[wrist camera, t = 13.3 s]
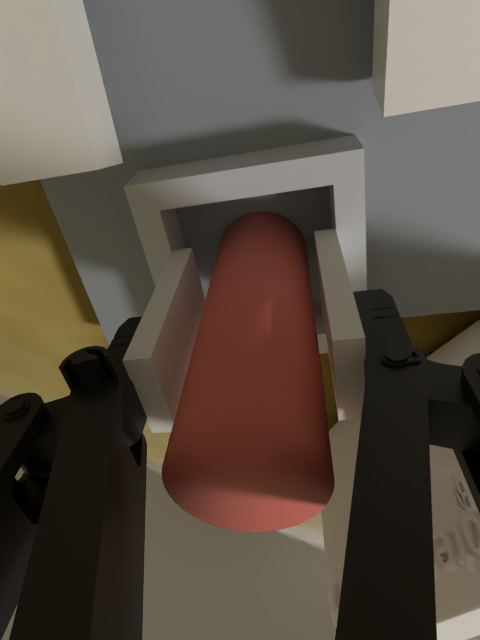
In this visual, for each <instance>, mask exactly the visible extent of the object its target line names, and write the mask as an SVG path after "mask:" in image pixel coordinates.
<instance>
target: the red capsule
mask: <svg viewBox="0 0 480 640" xmlns="http://www.w3.org/2000/svg"><path fill="white" fill-rule="evenodd" d="M162 479H163V483H164V486H165V488H166V490H167V492H168V494H169V495H170V497H171V498H172V499H173V500H174V501H175V503H176V504H177V505H178V506H180V507H181V508H182V509H183V510H185V511H186V512H187V513H189V514H191V515H192V516H194V517H196V518H198V519H200V520H202V521H204V522H207V523H209V524H212V525H215V526H218V527H222V528H226V529H231V530H238V531H248V532H262V531H273V530H280V529H284V528H289V527H292V526H295V525H298V524H300V523H302V522H305V521H307V520H308V519H310V518H312V517H314V516H315V515H316V514H317V513H319V512H320V511H321V510H322V509H323V508H324V507H325V506H326V505H327V503H328V502H329V500H330V498H331V496H332V494H333V490H334V471H333V463H332V454H331V446H330V438H329V430H328V421H327V413H326V405H325V397H324V388H323V380H322V372H321V364H320V355H319V347H318V339H317V331H316V322H315V314H314V306H313V298H312V289H311V281H310V273H309V265H308V256H307V248H306V242H305V239H304V237H303V235H302V233H301V231H300V230H299V228H298V227H297V226H296V225H295V224H294V223H293V222H292V221H291V220H289V219H288V218H286V217H284V216H282V215H280V214H277V213H273V212H266V211H259V212H252V213H249V214H246V215H243V216H241V217H239V218H238V219H236V220H235V221H234V222H233V223H231V224H230V225H229V227H228V228H227V229H226V231H225V232H224V234H223V236H222V238H221V242H220V246H219V249H218V253H217V257H216V261H215V265H214V269H213V273H212V276H211V280H210V284H209V288H208V292H207V296H206V300H205V303H204V307H203V311H202V315H201V319H200V323H199V327H198V331H197V334H196V338H195V342H194V346H193V350H192V354H191V358H190V361H189V365H188V369H187V373H186V377H185V381H184V385H183V388H182V392H181V396H180V400H179V404H178V408H177V412H176V415H175V419H174V423H173V427H172V431H171V435H170V439H169V442H168V446H167V450H166V454H165V458H164V462H163V466H162Z"/></svg>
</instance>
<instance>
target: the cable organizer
mask: <svg viewBox="0 0 480 640" xmlns="http://www.w3.org/2000/svg"><path fill="white" fill-rule="evenodd" d="M476 353H480V319H479V320H478V321H476V322H475V323H474V324H472V325H471V326H470V327H468V328H467V329H465V330H464V331H463V332H461V333H460V334H458V335H457V336H456V337H454V338H453V339H451V340H450V341H449V342H447V343H446V344H444V345H443V346H442V347H440V348H439V349H437V350H436V351H435V352H433V353H432V354H431V355H429V356H428V357H426V359H428V360H431V361H434V362H437V363H442V364H448V365H456V366H462V365H463V363H464V361H465V359H466V358H468V357H469V356H471V355H473V354H476ZM360 424H361V419H356V420H341V421H338V422H337V423H336V424H335V425H334V426H333V427H332V429H331V430H330V431H329V438H330V446H331V454H332V463H333V471H334V490H333V494H332V496H331V498H330V500H329V502H328V503H327V505H326V506H325V507H324V508H323V509H322V510H321V511H322V523H323V535H324V546H325V558H326V570H327V582H328V593H329V605H330V613H331V617H332V620H333V623H334V625H335V627H336V628H337V619H338V611H339V602H340V594H341V585H342V577H343V568H344V560H345V551H346V543H347V534H348V526H349V517H350V509H351V500H352V492H353V483H354V475H355V466H356V458H357V449H358V441H359V432H360ZM429 447H430V473H431V498H432V524H433V550H434V576H435V602H436V627H437V640H480V514H479V511H478V509H477V506H476V504H475V501H474V499H473V497H472V494H471V492H470V489H469V487H468V485H467V482H466V480H465V477H464V475H463V473H462V470H461V468H460V465H459V463H458V460H457V458H456V456H455V453H454V451H453V449H449V448H444V447H439V446H434V445H429Z"/></svg>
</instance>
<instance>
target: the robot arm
mask: <svg viewBox="0 0 480 640" xmlns="http://www.w3.org/2000/svg"><path fill="white" fill-rule="evenodd" d="M314 236H315V247H316V258H317V269H318V281H319V292H320V300H321V307H322V313H323V320H324V327H325V333H326V340H327V347H328V353H329V360H330V367H331V373H332V380H333V387H334V393H335V400H336V407H337V413H338V420H339V421H341V420H356V419H361V424H360V432H359V441H358V449H357V458H356V466H355V475H354V483H353V492H352V500H351V509H350V517H349V526H348V534H347V543H346V551H345V560H344V568H343V577H342V585H341V594H340V602H339V611H338V619H337V628H336V637H335V640H437V627H436V602H435V576H434V550H433V524H432V498H431V473H430V447H429V445H434V446H439V447H444V448H449V449H453V451H454V453H455V456H456V458H457V460H458V463H459V465H460V468H461V470H462V473H463V475H464V477H465V480H466V482H467V485H468V487H469V489H470V492H471V494H472V497H473V499H474V501H475V504H476V506H477V509H478V511H479V514H480V353H476V354H473V355H471V356H469V357H468V358H466V359H465V361H464V363H463V365H462V366H456V365H448V364H442V363H437V362H434V361H431V360H428V359H426V358H425V356H424V353H423V352H422V351H421V350H419V349H418V348H417V347H415V346H412V343H411V341H410V338H409V336H408V334H407V331H406V329H405V326H404V324H403V321H402V319H401V317H400V314H399V312H398V309H397V307H396V304H395V302H394V299H393V297H392V296H391V295H390V294H388V293H387V292H386V291H384V290H383V289H374V290H365V291H356V292H353V291H352V287H351V284H350V280H349V276H348V272H347V269H346V265H345V261H344V258H343V254H342V250H341V247H340V243H339V239H338V236H337V232H336V228H335V229H327V230H320V231H314ZM204 303H205V297H204V293H203V289H202V285H201V281H200V277H199V273H198V269H197V265H196V261H195V257H194V253H193V249H192V248H186V249H178V250H173V251H172V253H171V255H170V257H169V259H168V262H167V264H166V266H165V268H164V270H163V273H162V275H161V277H160V279H159V281H158V284H157V286H156V288H155V290H154V292H153V295H152V297H151V299H150V301H149V303H148V305H147V308H146V310H145V312H144V314H143V316H141V317H132V318H128V319H127V320H126V321H125V322H124V323H123V324H122V325H121V326H120V327H119V328H118V330H117V332H116V334H115V335H114V339H112V341H111V343H110V345H109V346H110V347H108V349H105V348H104V347H100V346H91V347H86V348H83V349H80V350H77V351H75V352H74V353H72V354H70V355H69V356H68V357H66V358H65V359H64V360H63V361H62V363H61V364H60V366H59V369H60V371H61V373H62V375H63V377H64V379H65V380H66V382H67V384H68V386H69V388H70V390H71V392H70V395H69V396H67V397H64V398H61V399H57V400H54V401H51V402H48V403H44V402H43V400H42V398H41V396H39V395H38V394H36V393H24V394H19V395H17V396H15V397H12V398H10V399H8V400H7V401H6V402H4V403H3V404H1V405H0V640H1V639H2V637H3V634H4V632H5V630H6V628H7V626H8V624H9V621H10V619H11V617H12V615H13V613H14V610H15V608H16V606H17V604H18V606H17V610H16V614H15V618H14V623H13V626H12V630H11V635H10V639H9V640H142V621H143V620H142V619H143V581H144V542H145V503H146V502H145V501H146V463H147V443H146V439H145V436H144V434H143V429H144V426H145V423H146V420H147V422H148V424H149V427H150V429H151V432H152V433H163V432H171V431H172V427H173V423H174V419H175V415H176V412H177V408H178V404H179V400H180V396H181V392H182V388H183V385H184V381H185V377H186V373H187V369H188V365H189V361H190V358H191V354H192V350H193V346H194V342H195V338H196V334H197V331H198V327H199V323H200V319H201V315H202V311H203V307H204ZM20 467H21V468H22V470H23V471H24V473H23V475H22V477H21V478H20V479H19V480H18V481H17V480H16V479H15V476H16V474H17V472H18V470H19V468H20Z"/></svg>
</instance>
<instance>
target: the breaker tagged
mask: <svg viewBox="0 0 480 640" xmlns="http://www.w3.org/2000/svg"><path fill="white" fill-rule="evenodd" d="M121 163H123V160H122V156H121V152H120V148H119V144H118V140H117V136H116V132H115V128H114V124H113V120H112V116H111V112H110V108H109V104H108V100H107V96H106V92H105V88H104V84H103V80H102V76H101V72H100V68H99V64H98V60H97V56H96V52H95V48H94V44H93V40H92V36H91V32H90V28H89V24H88V20H87V16H86V12H85V8H84V4H83V0H0V185H1V186H4V185H10V184H16V183H22V182H28V181H34V180H40V179H46V178H52V177H58V176H64V175H70V174H76V173H81V172H87V171H93V170H99V169H103V168H106V167H110V166H114V165H117V164H121Z"/></svg>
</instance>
